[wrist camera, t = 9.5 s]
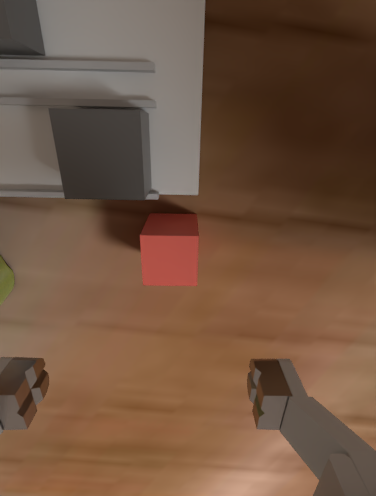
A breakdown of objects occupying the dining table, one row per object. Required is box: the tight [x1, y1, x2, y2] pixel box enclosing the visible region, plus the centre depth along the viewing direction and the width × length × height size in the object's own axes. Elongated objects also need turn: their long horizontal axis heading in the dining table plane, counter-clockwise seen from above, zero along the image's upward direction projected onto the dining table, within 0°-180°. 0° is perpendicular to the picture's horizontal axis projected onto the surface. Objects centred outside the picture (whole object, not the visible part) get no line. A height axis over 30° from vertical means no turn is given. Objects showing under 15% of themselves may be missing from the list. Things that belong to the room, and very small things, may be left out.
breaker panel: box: [0, 0, 205, 200], centre depth 17 cm, size 20×14×2 cm
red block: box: [140, 213, 199, 286], centre depth 21 cm, size 4×4×5 cm
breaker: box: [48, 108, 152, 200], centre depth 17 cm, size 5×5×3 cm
